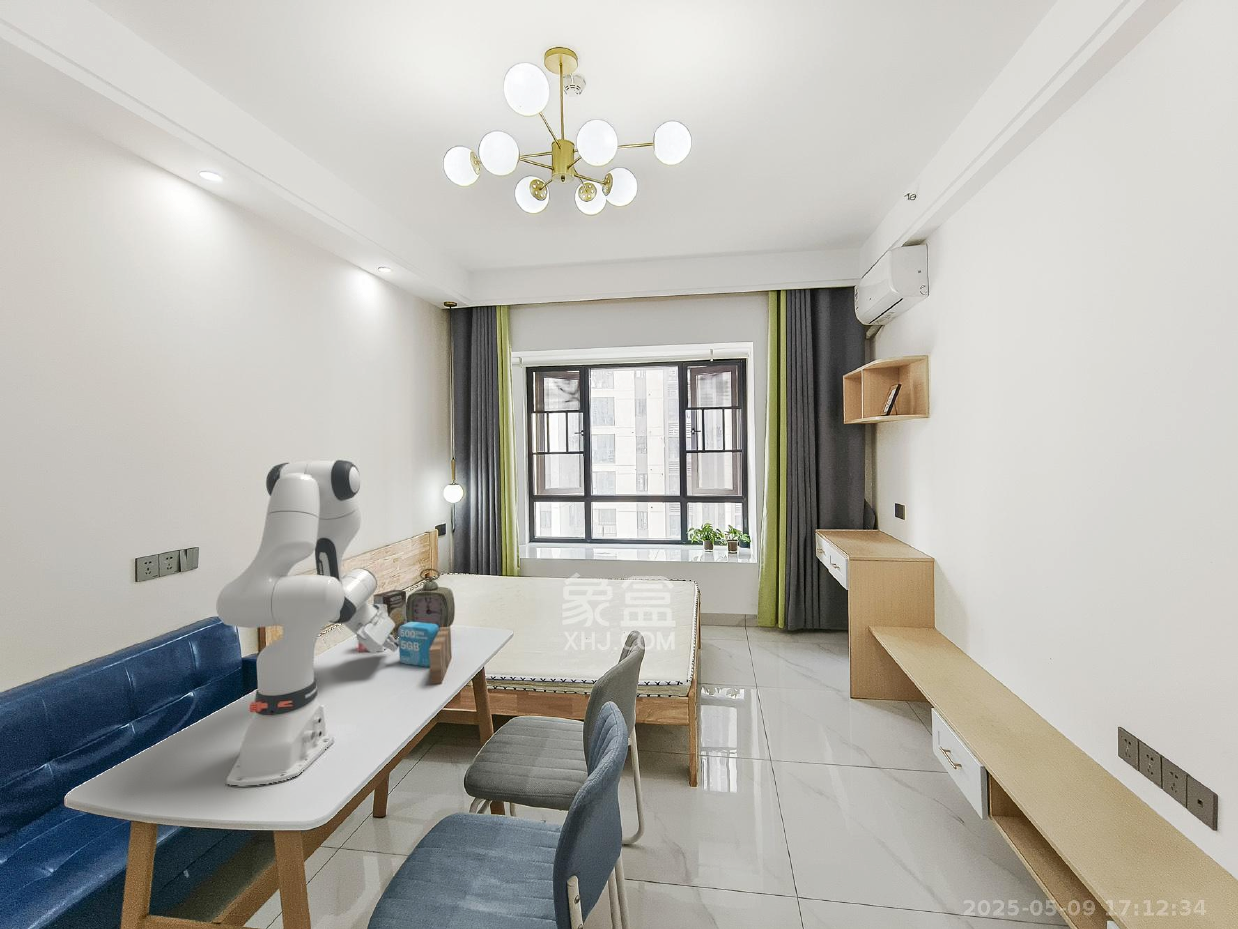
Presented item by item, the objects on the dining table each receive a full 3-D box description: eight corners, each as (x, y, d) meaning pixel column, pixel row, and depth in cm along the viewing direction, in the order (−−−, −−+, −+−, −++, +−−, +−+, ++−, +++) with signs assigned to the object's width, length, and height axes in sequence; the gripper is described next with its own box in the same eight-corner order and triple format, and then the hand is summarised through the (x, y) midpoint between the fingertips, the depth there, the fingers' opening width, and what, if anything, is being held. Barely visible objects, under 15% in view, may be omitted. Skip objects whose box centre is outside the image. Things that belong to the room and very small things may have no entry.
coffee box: (386, 643, 199) (384, 597, 198) (374, 640, 202) (372, 595, 201) (408, 635, 207) (406, 590, 206) (396, 632, 210) (394, 588, 209)
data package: (399, 663, 180) (397, 625, 179) (409, 658, 184) (407, 621, 184) (431, 667, 176) (429, 628, 175) (440, 662, 180) (439, 624, 180)
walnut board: (441, 683, 164) (440, 649, 163) (430, 684, 163) (429, 649, 163) (451, 657, 184) (450, 626, 183) (441, 658, 183) (440, 627, 183)
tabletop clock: (407, 644, 197) (404, 571, 196) (417, 635, 206) (414, 565, 205) (449, 643, 197) (446, 570, 196) (457, 634, 206) (454, 565, 205)
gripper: (361, 622, 167) (397, 653, 169) (378, 602, 187) (410, 630, 189) (345, 638, 167) (381, 669, 169) (363, 616, 187) (396, 644, 189)
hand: (396, 648), depth 179 cm, fingers closed
